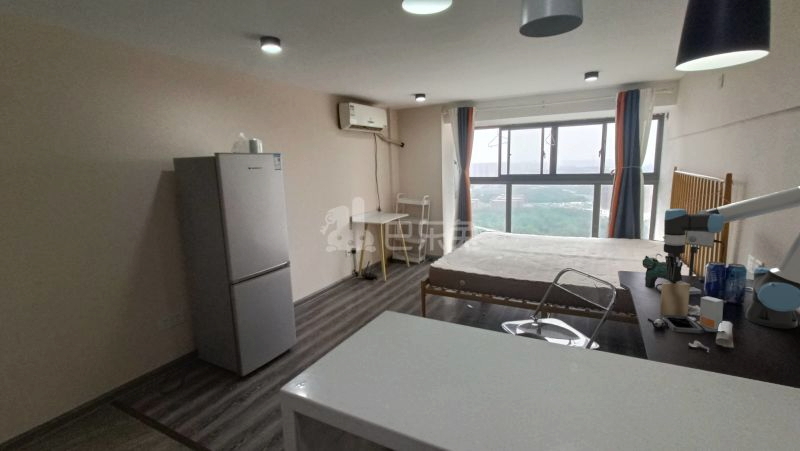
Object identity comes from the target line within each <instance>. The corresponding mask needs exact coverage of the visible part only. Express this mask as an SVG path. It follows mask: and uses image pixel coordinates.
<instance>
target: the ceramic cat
mask: <svg viewBox="0 0 800 451" xmlns="http://www.w3.org/2000/svg"><path fill="white" fill-rule="evenodd" d="M658 255H659V256H660V257H663V256H662V254H660V253H657V254H656V255H655V257H649V256H648V255H645V257H644V259H643V260H642V266H643V268H645V269H646V272H645V276H644V277H645V278H644V280H645V281H644V282H645V284H644V286H645V287H646V288H656V282H657V280H658V279H663V280H665V281H667V280H668V277H667V273H666V261H660V260H658V258H657V256H658ZM680 281H682V282H684V281H683V276H682V274H681V275H680Z"/></svg>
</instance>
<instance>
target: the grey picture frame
mask: <svg viewBox="0 0 800 451" xmlns="http://www.w3.org/2000/svg"><path fill="white" fill-rule="evenodd" d="M661 317H662V318H664V319H665V320H666V322H667V323H668V325H667V326H668V327H669V328H670V329H671V331H673V333H674V332H675V333H676V332H677V333H692V334H704V331H705V330H704V329H703V328H702V327H701V326H700V325H699V324H697V323H696V321H694V320H693V319H692V318H690V317H689V316H688V315H687V316H683V315H664V314H660V318H661ZM666 317H683V318H686V319H687V320H688V321H689V323H688V324H690V326H692V327H677V326H676V325H674V324H673V323H672V321H670V319H667V318H666Z"/></svg>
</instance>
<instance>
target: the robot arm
mask: <svg viewBox="0 0 800 451" xmlns="http://www.w3.org/2000/svg"><path fill="white" fill-rule="evenodd" d="M799 207H800V184H799V185H798V186H796V187H791V188H788V189H783V190H780V191H776V192H772V193H771V192H770V193H767V194H764V195H759V196H756V197H751V198H747V199H745V200H740V201H737V202H733V203H728V204H725V205H721V206H718V207H713V208H709V209H703V210H699V211H698V212H696V213H688V210H687V209H685V208H668V209H666V210H665V212H664V222H663V223H664V225H663V226H664V227H663V229H664V230H663V234H664V235H663V236H662V238H663V243H664V244H663V252H664V253H666V254H667V255H665V257H664V259H665V263H666V273H667V277H668V281H669V283H677V282H679V281H680V275H682V267H683V265H684V262H683V261H682V258H681V254H685V252H686V245H685V244H686V240H687V238H686V237H687V236H686V232H702V233H703V232H704V233H705V232H706V233H721V232H723V230H724V224H727V223H731V222H736V221H740V220H745V219H749V218H752V217H753V218H754V217H759V216H762V215H766V214H772V213H775V212H780V211H784V210H788V209H789V210H790V209H793V208H799ZM752 276H753V283H752V296H751V298H752V299H751V302H750V305H749V306H748V308H747V310H746V312H745V319H746V320H747V321H749V322H751V323H753V324H757V325H758V326H759V325H760V326H764V327H768V328H775V329H783V330H784V329H795V328H797V327H798V319H797V316H796V313H795V310H797V309H799V308H800V232H799V233H798V234H797V236H796V237H795V239H793V242H792V244H791V245H790V247H789V248H788V249H787V252H785V254H784V255H783V258H782V259H781V260H780V262H779V263H778V265H777V266H776V267H764V266H763V267H755V268H754V270H753V274H752Z"/></svg>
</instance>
